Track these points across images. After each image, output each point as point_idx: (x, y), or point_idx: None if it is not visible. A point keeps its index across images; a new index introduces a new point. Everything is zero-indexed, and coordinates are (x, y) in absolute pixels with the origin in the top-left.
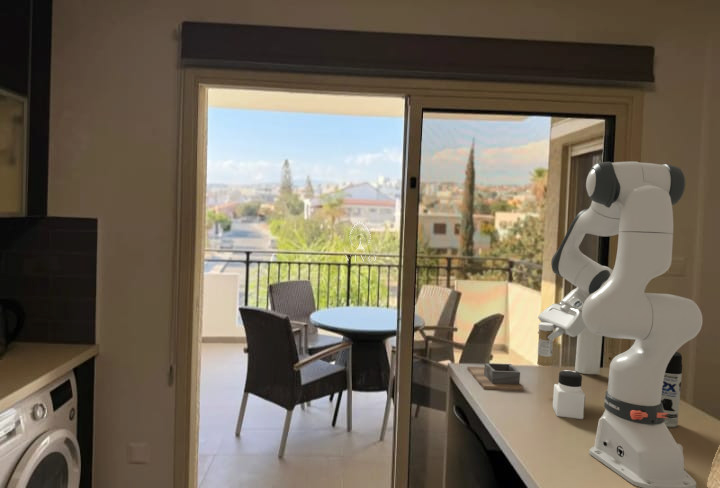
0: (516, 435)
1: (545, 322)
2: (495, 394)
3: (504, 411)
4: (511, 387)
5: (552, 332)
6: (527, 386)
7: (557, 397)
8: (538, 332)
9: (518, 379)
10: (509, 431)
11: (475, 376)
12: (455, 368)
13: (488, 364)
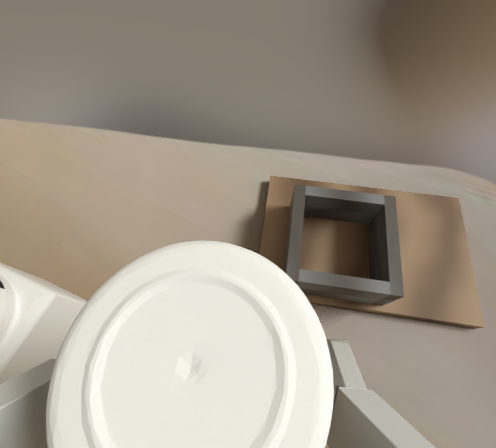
0: (9, 139)
1: (304, 427)
2: (227, 193)
3: (118, 167)
4: (259, 252)
5: (50, 372)
6: None
7: (8, 266)
8: (328, 339)
9: None
10: (29, 135)
11: (358, 187)
12: (452, 173)
13: (379, 202)
